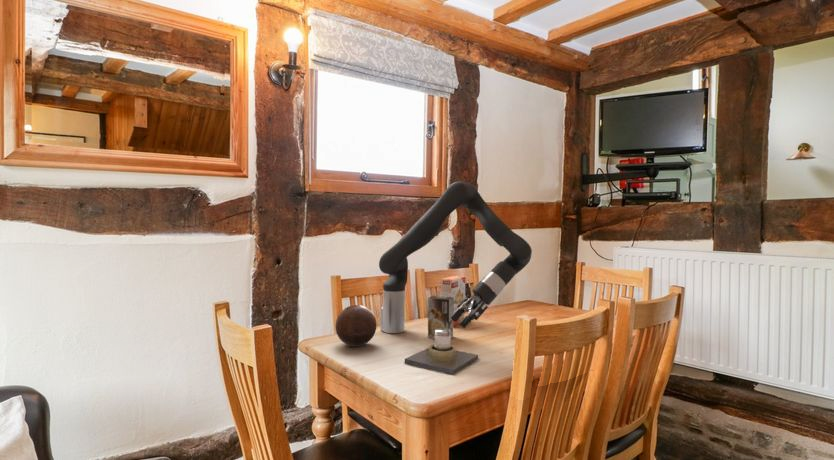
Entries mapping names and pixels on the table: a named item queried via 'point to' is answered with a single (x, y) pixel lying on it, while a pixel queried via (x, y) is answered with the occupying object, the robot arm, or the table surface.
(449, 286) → the cracker box
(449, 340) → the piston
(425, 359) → the square base with socket
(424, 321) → the table surface
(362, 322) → the wooden sphere
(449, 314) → the coffee box
